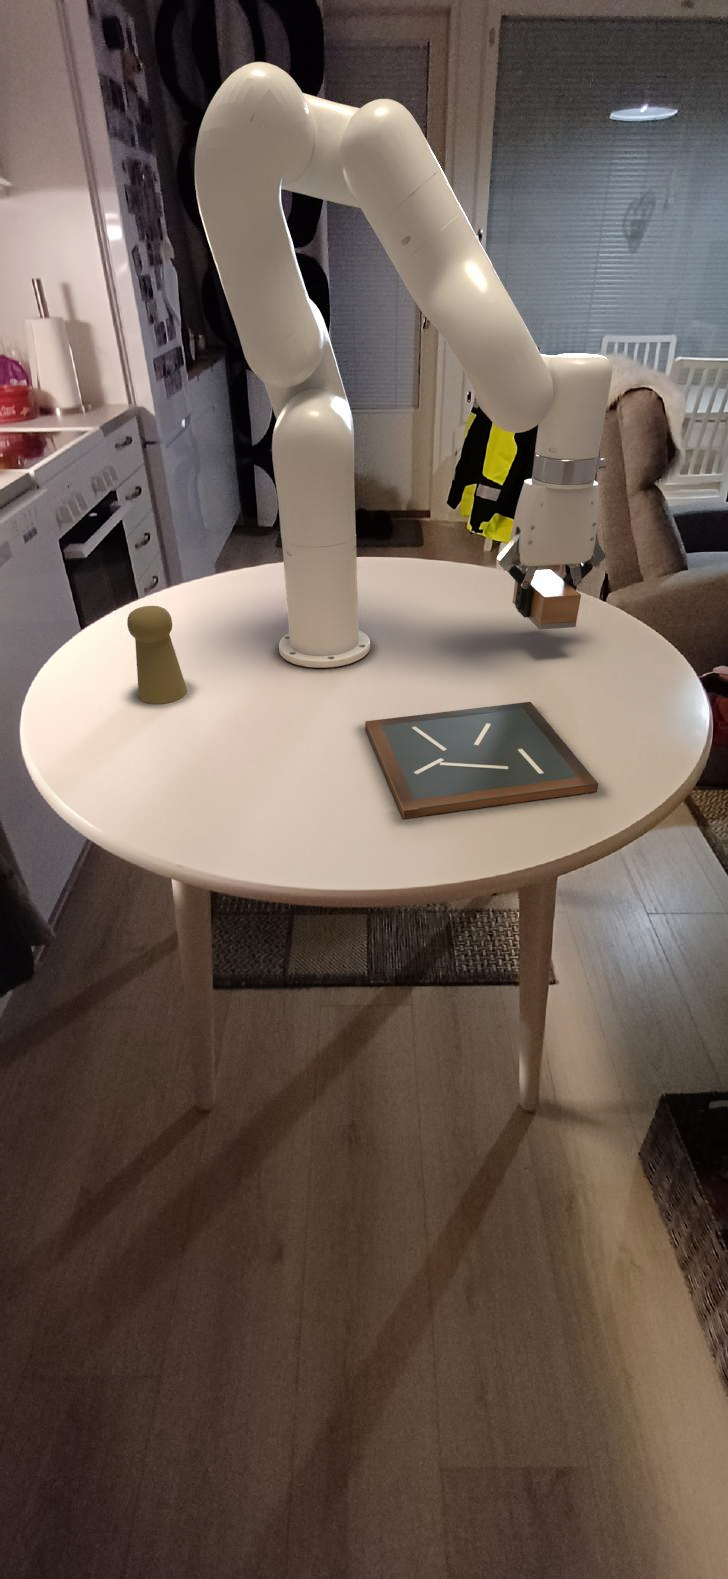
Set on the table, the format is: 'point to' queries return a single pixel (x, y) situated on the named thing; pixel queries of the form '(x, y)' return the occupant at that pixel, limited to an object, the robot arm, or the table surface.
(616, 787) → the table surface
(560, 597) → the eraser
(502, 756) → the chalkboard
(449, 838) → the table surface
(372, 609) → the table surface
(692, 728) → the table surface
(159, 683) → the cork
